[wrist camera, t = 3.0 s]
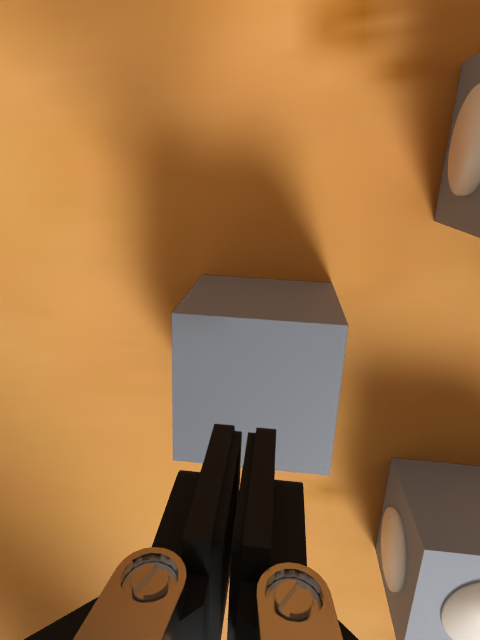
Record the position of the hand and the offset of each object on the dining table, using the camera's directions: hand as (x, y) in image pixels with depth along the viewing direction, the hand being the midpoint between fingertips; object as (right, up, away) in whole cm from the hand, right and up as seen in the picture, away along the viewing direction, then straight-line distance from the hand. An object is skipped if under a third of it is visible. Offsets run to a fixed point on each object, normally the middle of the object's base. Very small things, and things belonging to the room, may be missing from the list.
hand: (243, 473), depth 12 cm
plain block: (+1, +3, +10) cm, 10 cm away
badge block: (+11, -6, +12) cm, 17 cm away
